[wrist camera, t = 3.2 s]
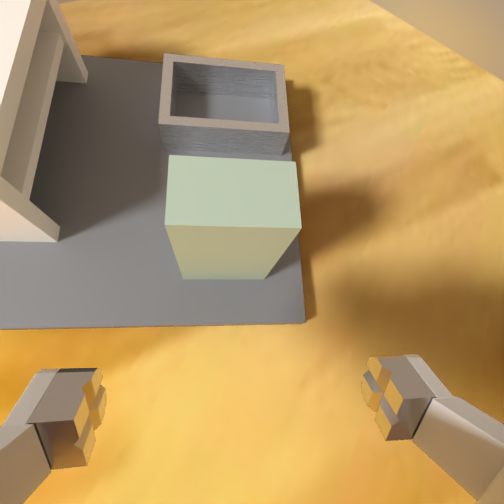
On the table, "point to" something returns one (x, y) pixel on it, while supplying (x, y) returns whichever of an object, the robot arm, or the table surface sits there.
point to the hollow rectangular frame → (223, 83)
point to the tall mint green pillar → (230, 215)
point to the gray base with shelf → (106, 192)
